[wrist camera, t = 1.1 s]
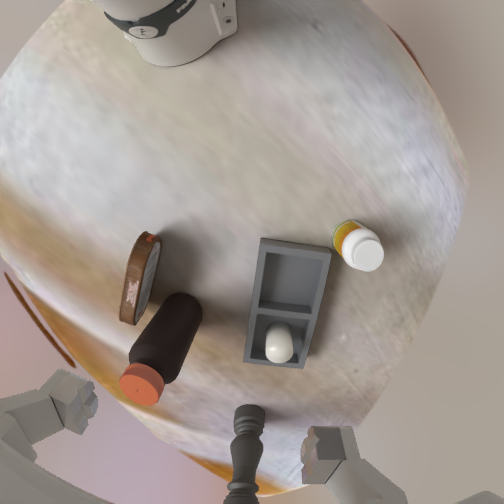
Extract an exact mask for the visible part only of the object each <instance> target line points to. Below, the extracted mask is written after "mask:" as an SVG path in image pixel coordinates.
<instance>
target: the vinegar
mask: <svg viewBox="0 0 504 504" xmlns="http://www.w3.org/2000/svg"><path fill="white" fill-rule="evenodd" d="M201 320H202V308H201V306H200V304H199V303H198V302H197V301H196V300H195V298H193V297H191V296H190V295H187V294H184V293H176V294H173V295H171V296H169V297H168V298H167V299H166V300H165V302H164V303H163V305H162V306H161V307H160V309H159V310H158V311H157V313H156V314H155V315H154V317H153V318H152V319H151V321H150V322H149V324H148V325H147V326H146V328H145V329H144V331H143V332H142V333H141V335H140V336H139V337H138V339H137V340H136V342H135V343H134V345H133V346H132V347H131V350H130V352H129V362H130V365H129V366H128V367H127V369H126V370H125V372H124V373H123V375H122V377H121V378H120V381H119V382H120V387H121V390H122V391H123V392H124V394H125V395H126V396H127V397H128V398H130V399H131V400H132V401H134V402H136V403H139V404H141V405H153V404H155V403H157V402H158V400H159V398H160V396H161V394H162V391H163V389H164V386H165V384H169V383H171V382H172V381H174V380H175V379H176V377H177V376H178V374H179V372H180V370H181V367H182V365H183V362H184V360H185V358H186V355H187V353H188V351H189V348H190V346H191V343H192V341H193V339H194V336H195V334H196V332H197V329H198V327H199V325H200V322H201Z"/></svg>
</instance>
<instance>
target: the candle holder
mask: <svg viewBox="0 0 504 504" xmlns="http://www.w3.org/2000/svg"><path fill="white" fill-rule="evenodd" d="M264 418H265V412H264V411H263V409H262V408H260V407H259V406H256V405H248V404H247V405H242V406H240V407H238V408H237V409H236V411H235V416H234V432H235V433H236V434H237V436H236V438H235V439H234V440H233V441H232V443H231V445H230V449H231V455H232V461H233V467H234V471H233V479H232V481H231V482H230V483H229V484H228V486H227V488H228V490H229V491H231V492H230V493H229V495H227V496H226V499H225V500H224V503H223V504H259V502H258V499H257V497H256V495H255V493H256V492H258V491H259V486H258V485H257V484H256V483H255V475H256V469H257V467H258V464H259V461H260V458H261V456H262V453H263V444H262V442H261V441H260V439H259V436H260V435H261V434H262V433H263V428H264Z"/></svg>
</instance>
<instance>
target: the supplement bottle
mask: <svg viewBox="0 0 504 504" xmlns="http://www.w3.org/2000/svg"><path fill="white" fill-rule="evenodd" d="M332 243H333V246H334V248H335V249H336V251H337V252H338V253H339V254H340V255H341V257H342V258H343V259H344V260H345V262H346V263H347V264H348V265H349V266H351V267H352V268H354V269H358V270H362V271H366V272H369V271H373V270H375V269H376V268H378V267H379V266H380V264H381V263H382V261H383V258H384V250H383V247H382V246H381V243H380V240H379V238H378V236H377V235H376V234H375V233H374V232H373V231H371V230H369V229H368V228H366V227H365V226H363V225H362V224H360V223H358V222H356V221H353V220H346V221H343V222H341V223H339V224H338V225H337V226H336V227H335V229H334V231H333V234H332Z"/></svg>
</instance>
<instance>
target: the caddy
mask: <svg viewBox="0 0 504 504" xmlns="http://www.w3.org/2000/svg"><path fill="white" fill-rule="evenodd" d="M331 256H332V253H331V252H330V251H329V249H328V248H327V247H322V246H315V245H308V244H301V243H294V242H287V241H280V240H273V239H266V238H261V239H260V246H259V253H258V260H257V268H256V275H255V282H254V289H253V296H252V303H251V310H250V317H249V324H248V331H247V338H246V345H245V352H244V359H243V362H245V363H253V364H261V365H270V366H279V367H289V368H301V369H303V367H304V364H305V361H306V357H307V354H308V350H309V347H310V343H311V339H312V336H313V332H314V328H315V324H316V321H317V317H318V313H319V309H320V305H321V301H322V296H323V292H324V288H325V284H326V279H327V275H328V270H329V266H330V261H331ZM274 321H283V322H286V323H287V324H288V325H289V326H290V328H291V336H292V344H293V356H292V357H291V359H290V360H288V361H286V362H284V363H274V362H272V361H270V360H269V359H268V358H267V356H266V329H267V327H268V325H269V324H271V323H272V322H274Z"/></svg>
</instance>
